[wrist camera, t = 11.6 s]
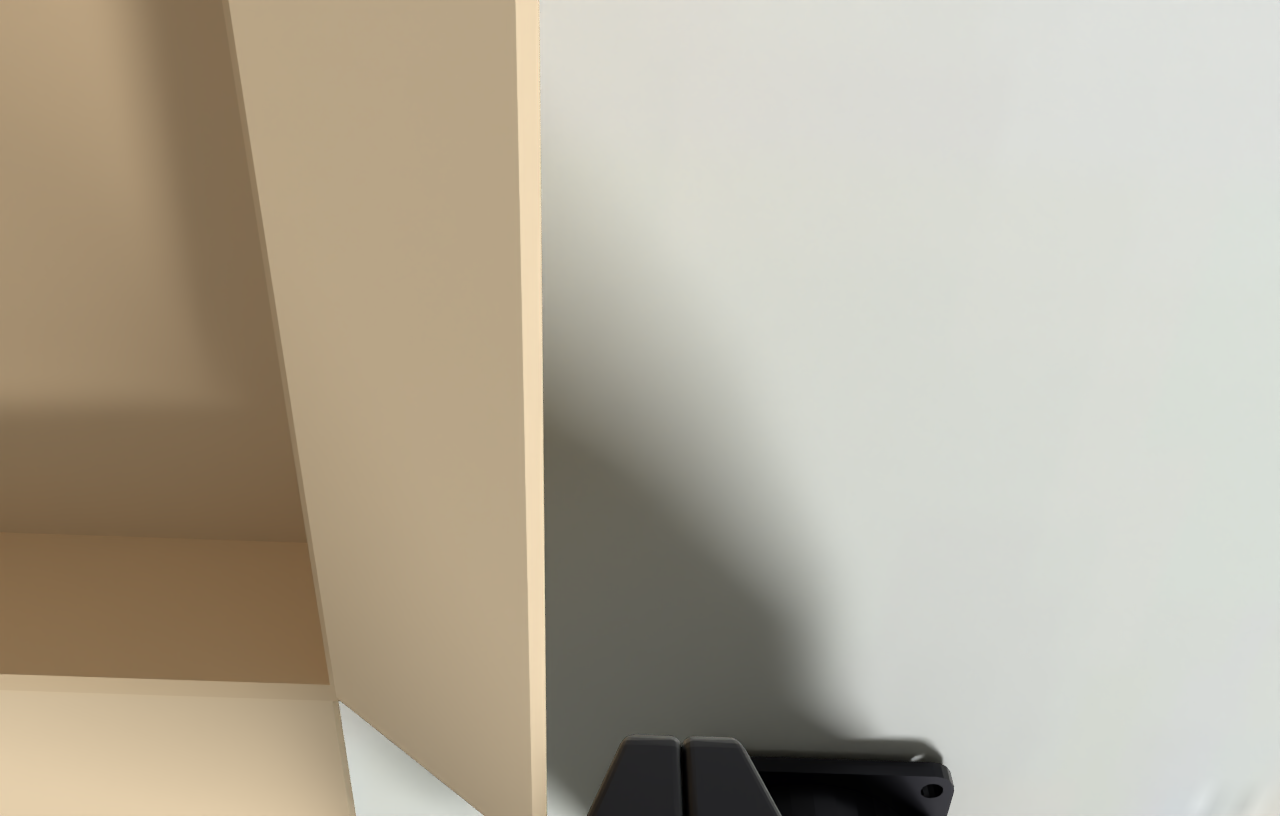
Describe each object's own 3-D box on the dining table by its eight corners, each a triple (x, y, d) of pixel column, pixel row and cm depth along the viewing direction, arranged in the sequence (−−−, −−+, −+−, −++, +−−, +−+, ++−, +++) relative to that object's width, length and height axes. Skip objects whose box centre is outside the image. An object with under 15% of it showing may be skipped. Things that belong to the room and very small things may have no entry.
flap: (164, -608, 11) (533, -634, 8) (350, 687, 20) (547, 841, 18) (133, -612, 10) (501, -642, 8) (336, 697, 20) (532, 854, 18)
